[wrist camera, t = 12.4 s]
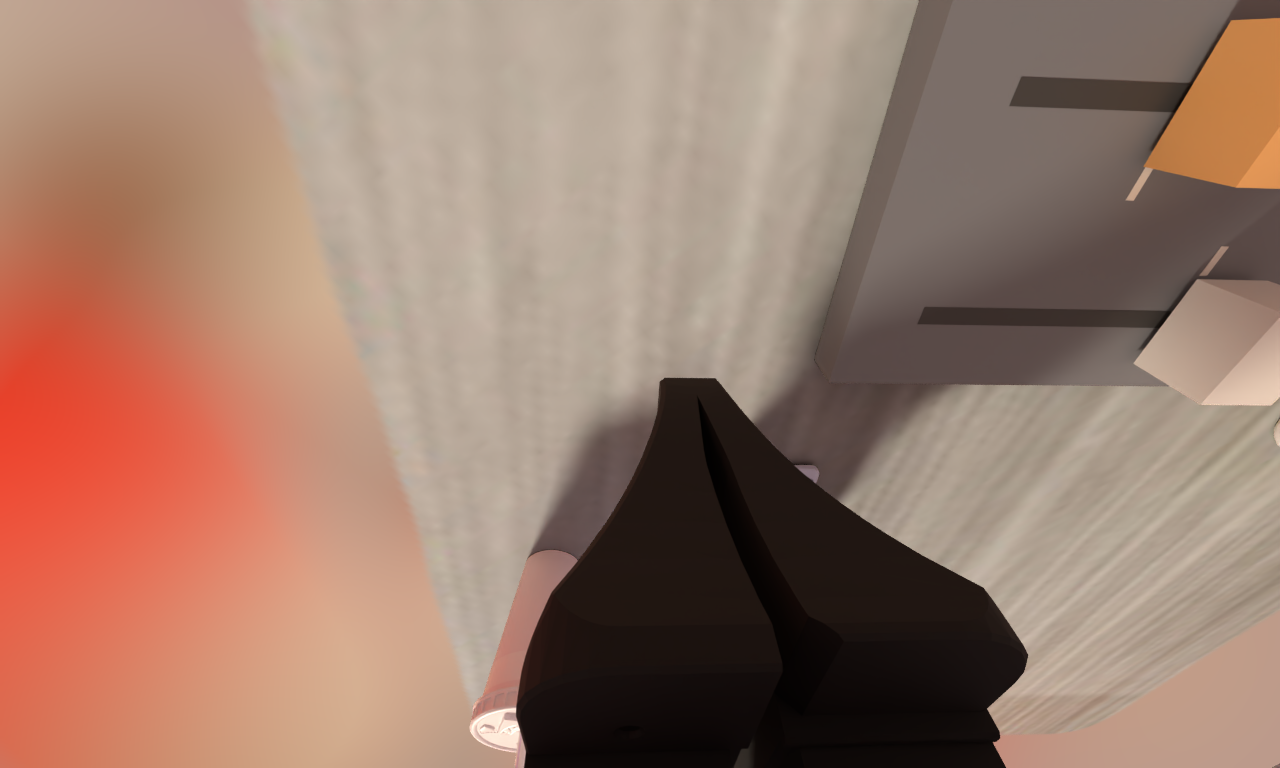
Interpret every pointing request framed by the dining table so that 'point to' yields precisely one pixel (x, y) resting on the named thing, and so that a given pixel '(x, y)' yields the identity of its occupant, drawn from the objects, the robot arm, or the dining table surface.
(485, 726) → the smoothie
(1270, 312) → the off white fader
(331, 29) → the dining table surface
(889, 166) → the fader console
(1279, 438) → the supplement bottle
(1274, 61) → the block
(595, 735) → the robot arm
